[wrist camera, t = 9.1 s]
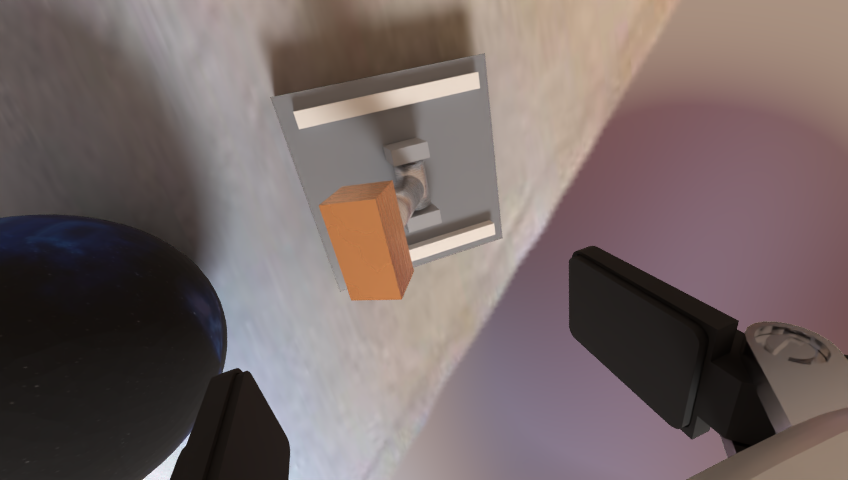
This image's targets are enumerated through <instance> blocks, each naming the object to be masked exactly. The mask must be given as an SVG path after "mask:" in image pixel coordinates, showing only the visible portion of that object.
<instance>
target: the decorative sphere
mask: <svg viewBox="0 0 848 480" xmlns="http://www.w3.org/2000/svg"><path fill="white" fill-rule="evenodd" d="M226 352H227V326H226V320H225V316H224V312H223V308H222V305H221V302H220V300H219V298H218V296H217V293H216V291H215V290H214V288H213V286H212V285H211V283H210V281H209V280H208V278H207V277H206V276H205V275H204V274H203V272H202V271H201V270H200V269H199V268H198V266H196V265H195V264H194V263H193V262H192V261H191V260H190V259H189V258H188V257H187V256H186V255H184V254H183V253H181V252H180V251H178V250H177V249H176V248H174V247H173V246H171V245H169V244H168V243H166V242H164V241H162V240H161V239H159V238H157V237H155V236H152V235H150V234H148V233H146V232H143V231H141V230H138V229H135V228H132V227H129V226H126V225H122V224H118V223H114V222H110V221H106V220H101V219H95V218H89V217H80V216H68V215H25V216H12V217H3V218H0V480H142V479H144V478H145V477H146V476H147V475H148V474H150V473H151V472H152V471H153V470H154V469H155V468H157V467H158V466H159V465H160V464H161V463H162V462H163V461H165V460H166V459H167V458H168V457H169V456H170V455H171V454H172V453H173V452H174V451H175V450H176V449H177V447H178V446H179V445H180V444H181V443H182V442H183V441H184V439H185V438H186V437H187V436H188V435H189V434H190V432H191V431H192V428H193V426H194V423H195V420H196V417H197V415H198V412H199V409H200V406H201V404H202V401H203V398H204V395H205V393H206V390H207V387H208V384H209V382H210V380H211V378H212V377H213V376H216V375H219V374H221V373H222V372H223V368H224V364H225V359H226Z"/></svg>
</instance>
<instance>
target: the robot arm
mask: <svg viewBox="0 0 848 480" xmlns="http://www.w3.org/2000/svg"><path fill="white" fill-rule="evenodd" d="M738 322H739V321H738V320H736V319H734V318H732V317H730V316H728V315H726V314H725V313H723V312H721V311H718V310H717V309H715V308H713V307H711V306H709V305H707V304H705V303H703V302H702V301H699V300H698V299H696V298H694V297H692V296H690V295H688V294H686V293H684V292H682V291H680V290H678V289H677V288H675V287H673V286H671V285H669V284H667V283H665V282H663V281H661V280H659V279H657V278H656V277H654V276H652V275H650V274H648V273H646V272H644V271H642V270H640V269H638V268H636V267H634V266H632V265H631V264H629V263H627V262H624V261H623V260H621V259H619V258H617V257H615V256H613V255H611V254H610V253H608V252H606V251H604V250H602V249H600V248H598V247H595V246H589V247H586V248H584V249H581V250H578V251H576V252H574V253H573V255H572V258H571V259H570V260H569V328H570V331H571V333H572V335H573V337H574V338H575V339H576V340H577V341H578V342H580V343H581V344H582V345H583V346H584V347H585V348H586V349H587V350H588V351H589V352H590V353H591V354H593V355H594V356H595V357H596V358H597V359H598V360H599V361H600V362H601V363H602V364H603V365H605V366H606V367H607V368H608V369H609V370H610V371H611V372H612V373H613V374H614V375H615V376H617V377H618V378H619V379H620V380H621V381H622V382H623V383H624V384H625V385H627V386H628V387H629V388H630V389H631V390H632V391H633V392H634V393H635V394H636V395H637V396H638V397H640V398H641V399H642V400H643V401H644V402H645V403H646V404H647V405H648V406H649V407H650V408H652V409H653V410H654V411H655V412H656V413H657V414H658V415H659V416H660V417H661V418H663V419H664V420H665V421H666V422H667V423H668V424H669V425H671V426H672V427H674V428H676V429H681V430H682V431H683V432H684V433H685V434H686V435H687V436H688V437H690V438H691V439H694V438H696V437H698V436H700V435H702V434H704V433H706V432H708V431H709V430H710V427H712V428H713V429H714V430H715V431H716V432H717V433H719V434H720V437H721V439H722V443H723V445H724V449H725V452H726V454H727V459H725V460H723V461H721V462H719V463H718V464H715V465H713V466H712V467H710V468H708V469H706V470H704V471H702V472H700V473H698V474H696V475H694V476H692V477H690V478H689V479H687V480H848V355H843V353H841V351H840V350H839V349H838V348H837V347H836V346H835V345H834V344H833V343H832V342H831V341H829V340H827V339H826V338H824V337H822V336H820V335H819V334H817V333H815V332H812V331H810V330H807V329H805V328H802V327H799V326H795V325H792V324H787V323H781V322H759V323H754V324H752V325H750V326H749V327H747V329H746V331H745V334H744V333H743V332H741V331H739V330H737V326H738ZM289 462H290V446H289V441H288V438H287V436H286V435H285V433H284V431H283V429H282V427H281V426H280V424H279V422H278V420H277V419H276V417H275V415H274V413H273V412H272V410H271V408H270V406H269V405H268V403H267V401H266V399H265V397H264V396H263V394H262V392H261V390H260V389H259V387H258V385H257V383H256V382H255V380H254V378H253V376H252V375H251V373H250V372H249V371H245V372H242V371H241V370H240V369H239V368H236V369H233V370H230V371H227V372H224V373H221V374H219V375H216V376H213V377H212V378H211V380H210V382H209V384H208V387H207V390H206V393H205V395H204V398H203V401H202V404H201V406H200V409H199V412H198V415H197V417H196V420H195V423H194V426H193V428H192V431H191V434H190V437H189V439H188V442H187V445H186V446H185V447H184V448H183V449H182V451H181V453H180V455H179V457H178V459H177V462H176V465H175V467H174V470H173V473H172V475H171V478H170V480H288V477H289Z"/></svg>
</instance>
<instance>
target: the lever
mask: <svg viewBox="0 0 848 480" xmlns="http://www.w3.org/2000/svg"><path fill="white" fill-rule="evenodd" d="M394 170H395V175H396V179H397V181H396V182H395V183H394V184H393V180H391V181H383V182H375V183H366V184H358V185H350V186H342V187H341V188H340V189H338V190H337V191H336V192H335V193H333V194H332V195H331V196H330V197H328V198H327V199H326V200H325V201H323V202H322V203H321V204H320V205H319V208H320V211H321V214H322V217H323V220H324V222H325V225H326V228H327V231H328V234H329V237H330V240H331V243H332V246H333V249H334V251H335V254H336V257H337V260H338V263H339V266H340V269H341V272H342V275H343V277H344V280H345V283H346V286H347V289H348V292H349V295H350V298H351V300H396V299H402V298H403V295H404V293H405V291H406V288H407V286H408V284H409V281H410V279H411V277H412V274H413V272H414V269H413V265H412V261H411V257H410V252H409V248H408V244H407V240H406V235H405V231H404V228H405V226H406V224H407V223H408V221H409V219H410V218H411V216H412V214H413V213H414V211H417V210H421V209H424V208H427V207H428V206H430V205H431V199H430V194H429V188H428V183H427V178H426V173H425V167H424V162H423V160H418V161H415V162H411V163H407V164H403V165H399V166H396V167H394Z"/></svg>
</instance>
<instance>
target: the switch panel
mask: <svg viewBox="0 0 848 480" xmlns="http://www.w3.org/2000/svg"><path fill="white" fill-rule="evenodd" d="M270 98H271V100H272V103H273V106H274V109H275V111H276V114H277V117H278V120H279V123H280V125H281V128H282V131H283V134H284V137H285V139H286V142H287V145H288V148H289V151H290V153H291V156H292V159H293V162H294V164H295V167H296V170H297V173H298V176H299V178H300V181H301V184H302V187H303V190H304V192H305V195H306V198H307V201H308V204H309V206H310V209H311V212H312V215H313V217H314V220H315V223H316V226H317V229H318V231H319V234H320V237H321V240H322V243H323V245H324V248H325V251H326V254H327V257H328V259H329V262H330V265H331V268H332V270H333V273H334V276H335V279H336V282H337V284H338V287H339V290H340V291H344V290H347V286H346V283H345V280H344V277H343V275H342V272H341V269H340V266H339V263H338V260H337V257H336V254H335V251H334V249H333V246H332V243H331V240H330V237H329V234H328V231H327V228H326V225H325V222H324V220H323V217H322V214H321V211H320V208H319V205H320V204H321V203H322V202H323V201H325V200H326V199H327V198H328V197H330V196H331V195H332V194H333V193H335V192H336V191H337V190H338V189H340V188H341V187H342V186H350V185H358V184H366V183H375V182H383V181H391V180H393V184H394V183H395V182H396V181H397V179H396V175H395V170H394V167H396V166H399V165H403V164H407V163H411V162H415V161H418V160H423V162H424V167H425V173H426V178H427V183H428V188H429V194H430V199H431V205H430V206H428V207H427V208H424V209H421V210H417V211H414V213H413V214H412V216H411V218H410V219H409V221H408V223H407V224H406V226H405V228H404V231H405V235H406V240H407V244H408V248H409V252H410V257H411V261H412V265H413V267H416V266H419V265H422V264H425V263H428V262H431V261H434V260H437V259H441V258H444V257H447V256H450V255H453V254H456V253H459V252H462V251H465V250H468V249H471V248H474V247H477V246H480V245H483V244H486V243H489V242H492V241H495V240H498V239H501V238H502V229H501V218H500V208H499V197H498V187H497V176H496V166H495V155H494V145H493V134H492V124H491V113H490V103H489V92H488V82H487V71H486V61H485V53H484V54H479V55H474V56H469V57H464V58H459V59H454V60H450V61H445V62H440V63H435V64H430V65H425V66H420V67H416V68H411V69H406V70H401V71H396V72H391V73H386V74H382V75H377V76H372V77H367V78H362V79H357V80H352V81H347V82H343V83H338V84H333V85H328V86H323V87H318V88H313V89H309V90H304V91H299V92H294V93H289V94H284V95H279V96H275V97H270Z"/></svg>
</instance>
